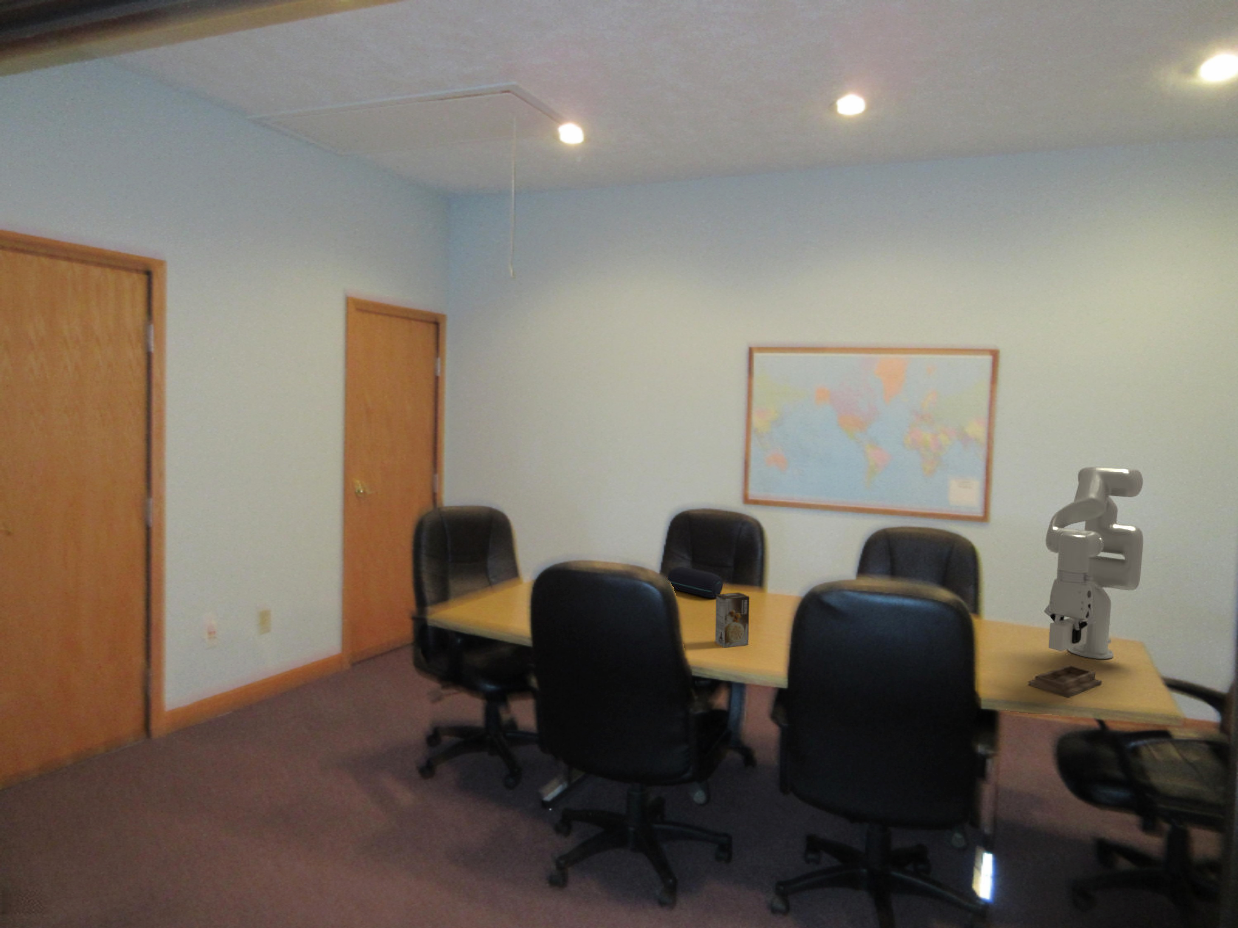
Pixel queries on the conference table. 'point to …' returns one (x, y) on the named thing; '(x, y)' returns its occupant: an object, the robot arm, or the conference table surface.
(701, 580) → the portable speaker
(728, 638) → the coffee box
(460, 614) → the conference table surface
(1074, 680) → the rack
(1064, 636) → the light grey block
